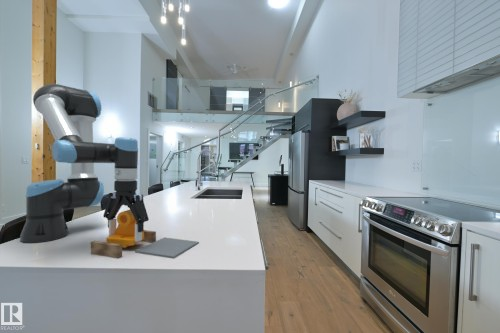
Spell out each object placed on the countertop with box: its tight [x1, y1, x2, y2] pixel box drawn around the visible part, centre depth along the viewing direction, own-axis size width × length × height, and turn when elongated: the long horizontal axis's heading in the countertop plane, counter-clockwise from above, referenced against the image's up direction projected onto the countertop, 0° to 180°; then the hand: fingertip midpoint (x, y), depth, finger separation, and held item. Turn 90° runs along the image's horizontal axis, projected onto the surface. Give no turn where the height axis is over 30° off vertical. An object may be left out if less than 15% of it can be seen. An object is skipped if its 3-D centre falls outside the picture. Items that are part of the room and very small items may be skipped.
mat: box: [134, 237, 200, 259], centre depth 89 cm, size 16×16×1 cm
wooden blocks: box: [90, 229, 157, 259], centre depth 89 cm, size 12×18×4 cm, turn 162°
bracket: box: [105, 209, 144, 248], centre depth 89 cm, size 11×7×12 cm, turn 82°
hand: (125, 238), depth 90 cm, fingers closed on bracket, 11 cm apart
